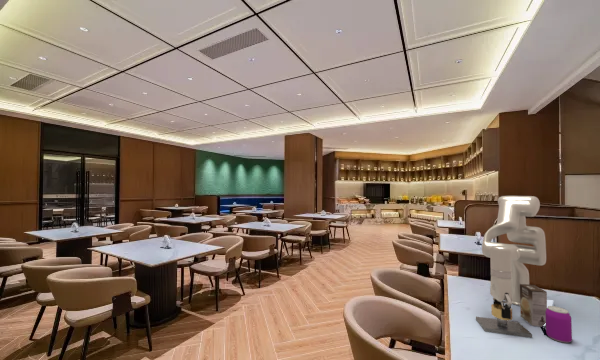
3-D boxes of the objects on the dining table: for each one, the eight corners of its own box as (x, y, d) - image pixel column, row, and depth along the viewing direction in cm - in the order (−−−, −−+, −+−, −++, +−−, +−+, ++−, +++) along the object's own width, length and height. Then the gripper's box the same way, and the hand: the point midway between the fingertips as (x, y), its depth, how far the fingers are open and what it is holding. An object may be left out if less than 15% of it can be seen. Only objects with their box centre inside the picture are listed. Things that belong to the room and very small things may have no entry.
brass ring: (507, 313, 119) (507, 305, 119) (515, 321, 112) (515, 311, 112) (489, 311, 121) (488, 302, 121) (495, 318, 114) (495, 309, 114)
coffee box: (519, 316, 128) (518, 283, 128) (534, 318, 126) (533, 284, 127) (532, 326, 119) (531, 290, 119) (548, 327, 117) (547, 291, 118)
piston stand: (518, 325, 119) (518, 308, 119) (532, 338, 108) (531, 319, 109) (475, 319, 124) (475, 303, 124) (485, 331, 113) (484, 313, 114)
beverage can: (567, 336, 110) (566, 307, 111) (575, 346, 103) (574, 315, 104) (543, 331, 114) (542, 303, 114) (549, 340, 107) (549, 310, 107)
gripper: (483, 267, 127) (484, 305, 126) (499, 278, 110) (500, 321, 109) (501, 269, 125) (502, 307, 124) (521, 280, 108) (522, 324, 107)
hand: (501, 313), depth 116 cm, fingers closed on brass ring, 7 cm apart
